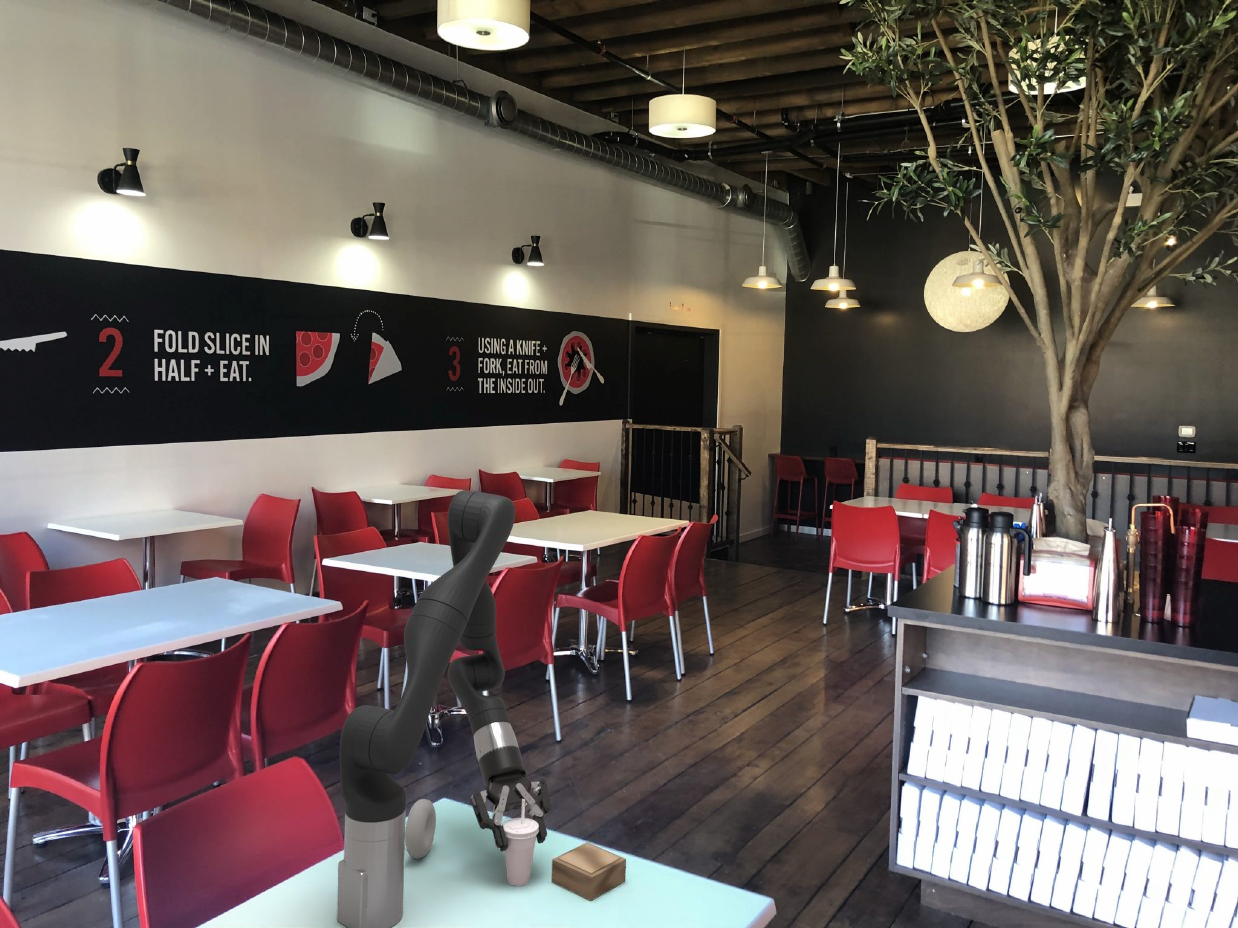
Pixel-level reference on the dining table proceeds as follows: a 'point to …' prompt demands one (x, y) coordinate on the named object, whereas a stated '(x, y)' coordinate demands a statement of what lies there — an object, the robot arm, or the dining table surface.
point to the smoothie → (520, 847)
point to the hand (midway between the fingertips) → (523, 845)
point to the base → (588, 871)
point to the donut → (420, 828)
